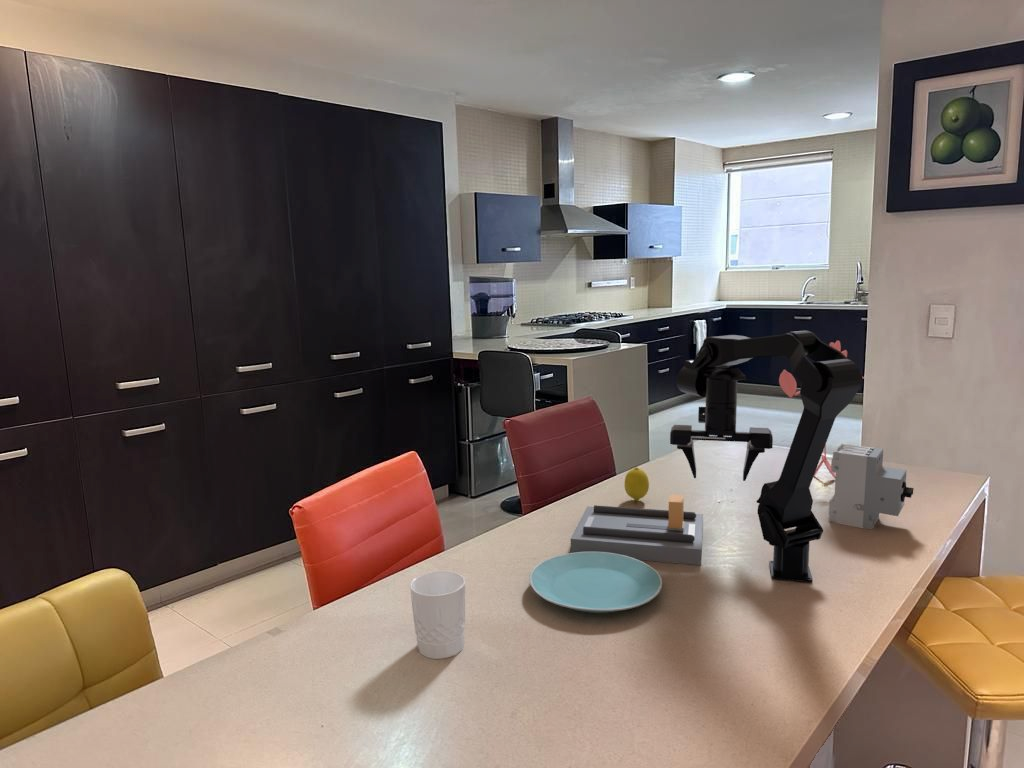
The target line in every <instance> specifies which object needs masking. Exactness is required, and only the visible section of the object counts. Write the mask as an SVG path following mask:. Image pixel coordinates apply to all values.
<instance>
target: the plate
mask: <svg viewBox="0 0 1024 768" xmlns="http://www.w3.org/2000/svg"><path fill="white" fill-rule="evenodd" d="M529 585H530V586H531V588H532V590H533V591H534V592H535V594H537V595H538V596H539V597H540V598H542V599H544V600H545V601H547V602H549V603H551V604H554V605H556V606H559V607H563V608H567V609H570V610H573V611H577V612H582V613H591V614H608V613H609V612H610V613H615V612H619V611H620V612H621V611H625V610H626V611H627V610H630V609H634V608H638V607H641V606H642V605H645V604H647V603H648V602H651V601H652V600H653V599H654V598H656V597H657V596H658V595H659V593H660V592H661V590H662V587H663V579H662V576H661V575H660V573H659V572H658V571H657V570H656V569H655V568H654V567H652V566H651V565H649V564H647V563H645V562H644V561H643V560H637V559H635V558H632V557H628V556H624V555H620V554H615V553H608V552H576V553H571V552H570V553H564V554H560V555H556V556H552V557H550V558H547V559H545V560H543V561H541V562H540V563H537V565H536V566H534V568H533V569H532V570H531V572H530V574H529Z"/></svg>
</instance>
